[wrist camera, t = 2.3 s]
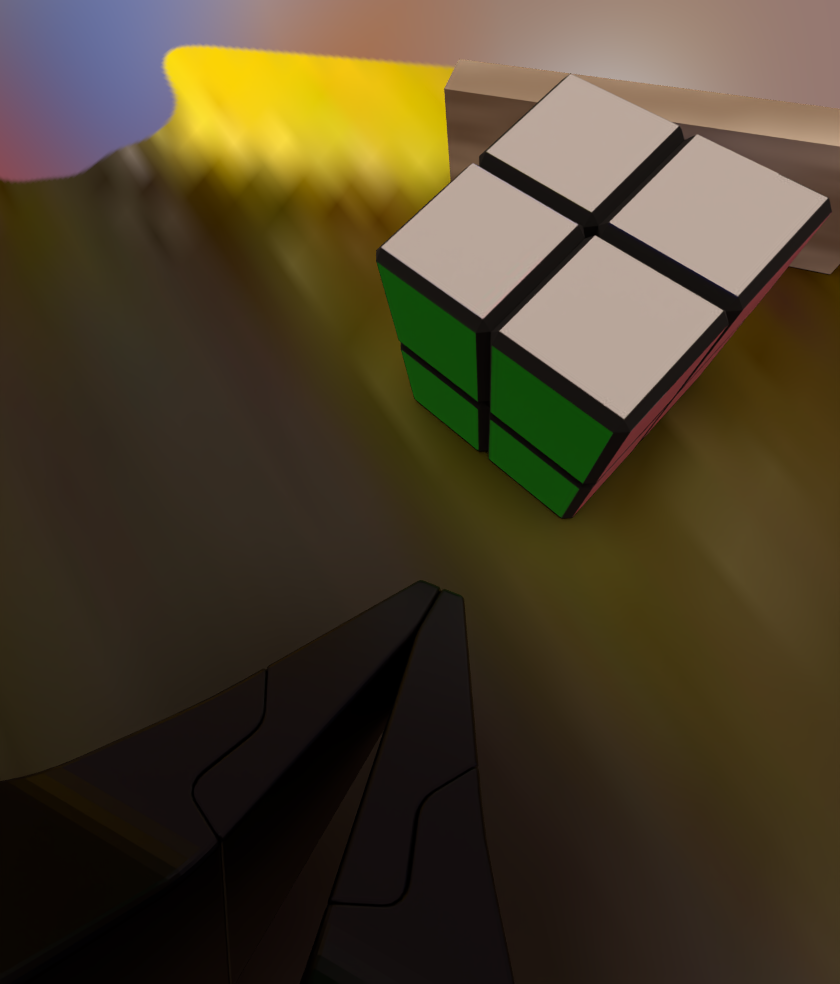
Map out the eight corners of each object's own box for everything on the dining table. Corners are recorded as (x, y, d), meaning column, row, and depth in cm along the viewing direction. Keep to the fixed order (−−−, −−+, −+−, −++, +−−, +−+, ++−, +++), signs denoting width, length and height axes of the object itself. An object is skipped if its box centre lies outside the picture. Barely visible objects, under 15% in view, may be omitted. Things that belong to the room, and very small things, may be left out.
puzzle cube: (700, 375, 24) (846, 195, 14) (566, 525, 22) (627, 437, 13) (538, 271, 26) (568, 63, 17) (410, 397, 25) (366, 249, 16)
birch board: (830, 274, 24) (936, 160, 18) (452, 199, 29) (444, 88, 23) (836, 242, 25) (942, 122, 19) (463, 173, 29) (459, 59, 23)
